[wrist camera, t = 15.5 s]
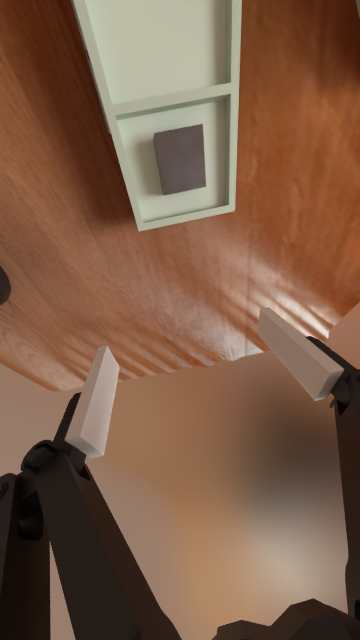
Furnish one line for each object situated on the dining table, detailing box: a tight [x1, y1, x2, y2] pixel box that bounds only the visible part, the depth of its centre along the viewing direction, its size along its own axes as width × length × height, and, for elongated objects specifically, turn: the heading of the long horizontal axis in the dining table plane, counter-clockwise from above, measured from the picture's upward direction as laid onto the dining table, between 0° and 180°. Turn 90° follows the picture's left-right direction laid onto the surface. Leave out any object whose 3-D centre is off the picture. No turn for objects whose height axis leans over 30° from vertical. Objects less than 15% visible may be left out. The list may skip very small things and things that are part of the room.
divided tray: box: [73, 0, 242, 231], centre depth 17 cm, size 16×38×3 cm, turn 10°
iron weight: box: [153, 124, 206, 195], centre depth 23 cm, size 6×6×3 cm
